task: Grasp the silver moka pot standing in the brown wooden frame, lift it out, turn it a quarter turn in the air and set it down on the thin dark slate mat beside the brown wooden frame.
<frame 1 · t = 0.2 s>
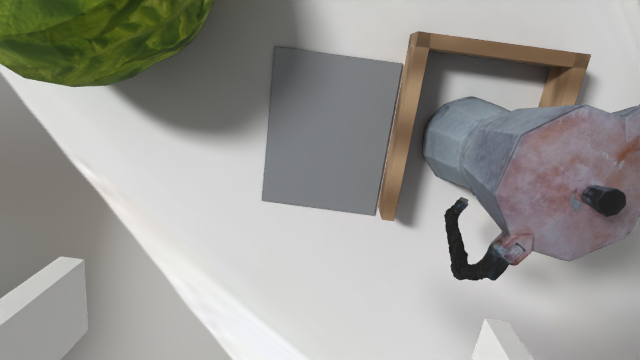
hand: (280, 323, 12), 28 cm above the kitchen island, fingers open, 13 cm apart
moka pot: (463, 144, 39), on the kitchen island
mat: (327, 135, 39), on the kitchen island
brown wooden frame: (464, 144, 38), on the kitchen island
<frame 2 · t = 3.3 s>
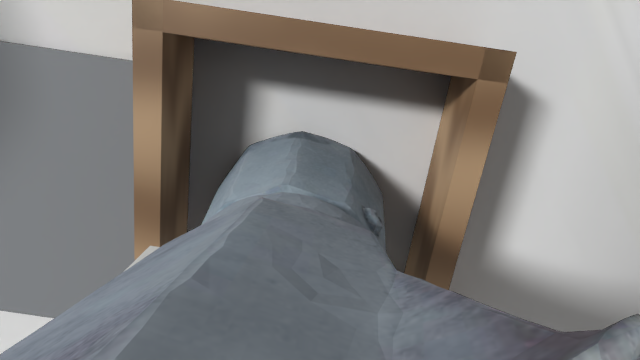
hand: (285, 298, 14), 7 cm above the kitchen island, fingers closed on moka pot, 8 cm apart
moka pot: (301, 216, 21), on the kitchen island, touching gripper
mat: (50, 197, 21), on the kitchen island
brown wooden frame: (301, 217, 21), on the kitchen island
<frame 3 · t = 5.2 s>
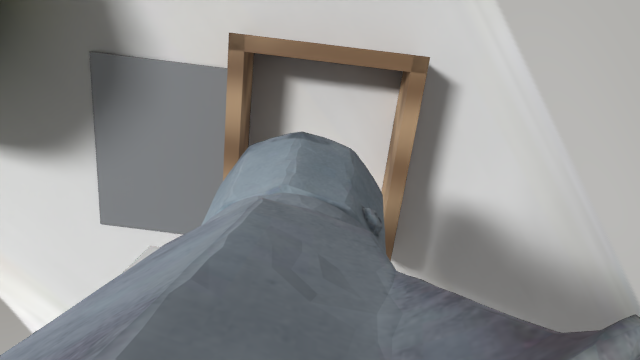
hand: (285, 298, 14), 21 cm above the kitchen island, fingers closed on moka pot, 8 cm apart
moka pot: (301, 216, 21), point 14 cm above the kitchen island, touching gripper
mat: (163, 151, 34), on the kitchen island
brown wooden frame: (316, 159, 34), on the kitchen island
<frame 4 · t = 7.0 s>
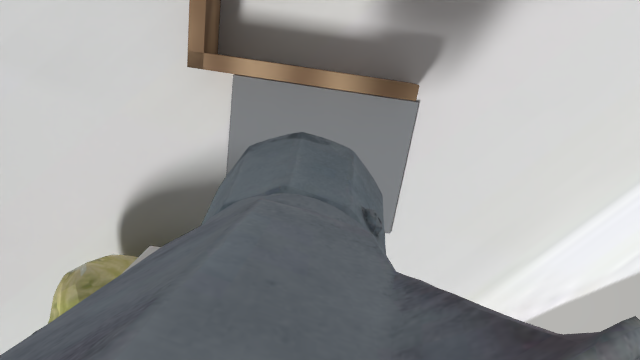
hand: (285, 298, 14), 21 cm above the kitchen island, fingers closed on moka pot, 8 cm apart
lettuce: (180, 314, 40), on the kitchen island
moka pot: (301, 217, 21), point 14 cm above the kitchen island, touching gripper
mat: (316, 158, 34), on the kitchen island
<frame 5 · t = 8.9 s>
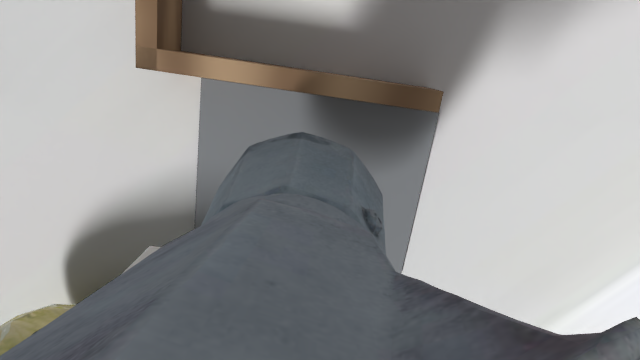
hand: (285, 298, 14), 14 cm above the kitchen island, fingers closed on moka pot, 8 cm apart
moka pot: (301, 217, 21), point 6 cm above the kitchen island, touching gripper
mat: (308, 182, 27), on the kitchen island
when the fingers open (8 cm above the kitchen island, at t = 10.7 s): moka pot moves 2 cm, on the kitchen island.
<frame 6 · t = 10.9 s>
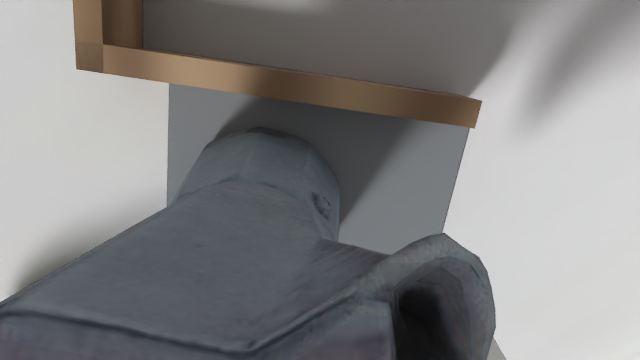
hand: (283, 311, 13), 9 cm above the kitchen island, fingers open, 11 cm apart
moka pot: (264, 208, 22), resting on mat, touching gripper
mat: (304, 210, 22), on the kitchen island
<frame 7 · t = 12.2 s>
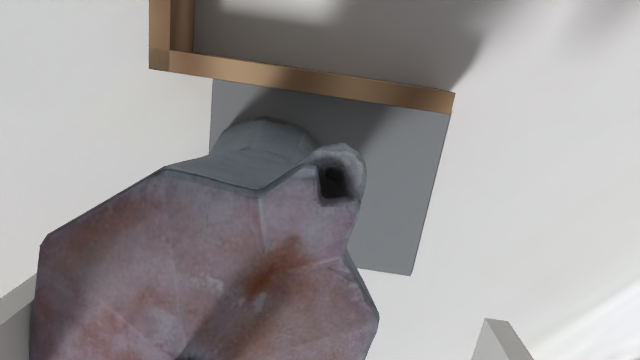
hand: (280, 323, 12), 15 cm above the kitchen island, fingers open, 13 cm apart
moka pot: (268, 183, 27), resting on mat, touching gripper
mat: (318, 183, 27), on the kitchen island
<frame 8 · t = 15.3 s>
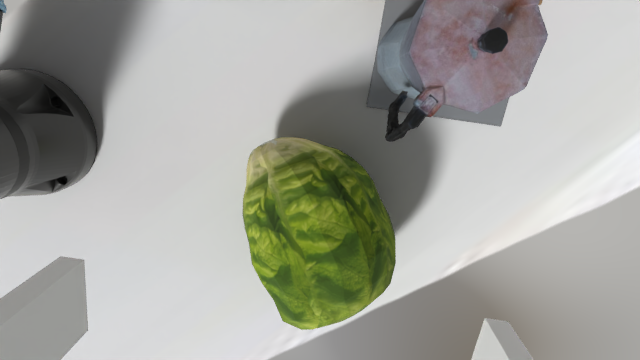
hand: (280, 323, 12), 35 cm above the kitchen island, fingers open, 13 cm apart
lettuce: (317, 202, 48), on the kitchen island
moka pot: (414, 61, 43), resting on mat
mat: (446, 61, 42), on the kitchen island
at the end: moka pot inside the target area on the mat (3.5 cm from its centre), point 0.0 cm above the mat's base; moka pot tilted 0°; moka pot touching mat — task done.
